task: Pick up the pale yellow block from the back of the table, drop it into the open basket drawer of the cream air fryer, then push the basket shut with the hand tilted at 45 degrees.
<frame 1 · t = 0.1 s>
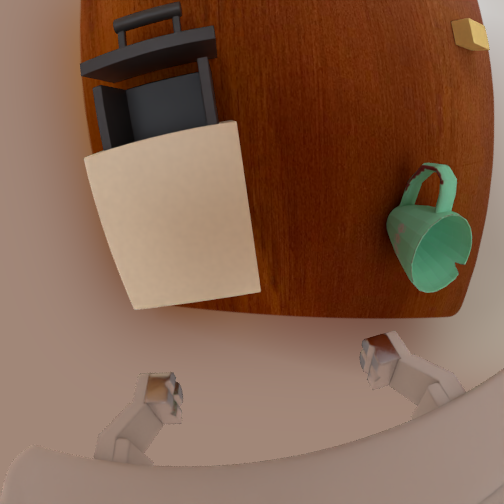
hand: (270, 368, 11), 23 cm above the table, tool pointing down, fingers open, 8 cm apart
drawer: (159, 96, 21), point 5 cm above the table, slide at 7.0 cm
block: (461, 36, 22), on the table
fryer: (187, 194, 31), on the table
mug: (401, 204, 34), on the table
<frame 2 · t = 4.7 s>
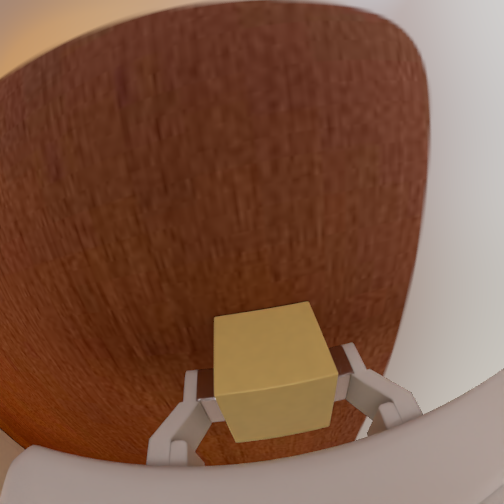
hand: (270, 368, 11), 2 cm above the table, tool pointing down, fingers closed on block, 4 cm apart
block: (266, 342, 13), on the table, touching gripper
fryer: (7, 444, 21), on the table
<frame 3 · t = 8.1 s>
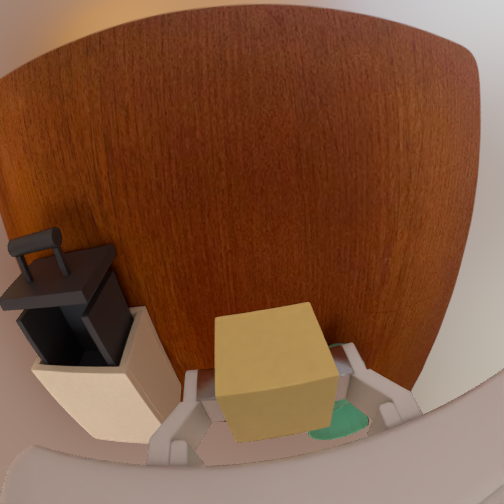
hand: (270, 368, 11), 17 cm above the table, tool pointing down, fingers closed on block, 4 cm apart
drawer: (71, 312, 23), point 5 cm above the table, slide at 7.0 cm
block: (267, 342, 13), point 15 cm above the table, touching gripper
fryer: (122, 353, 33), on the table
mug: (326, 352, 36), on the table
when the fingers open (9 cm above the table, at t = 11.9 s): block drops 5 cm, resting on drawer.
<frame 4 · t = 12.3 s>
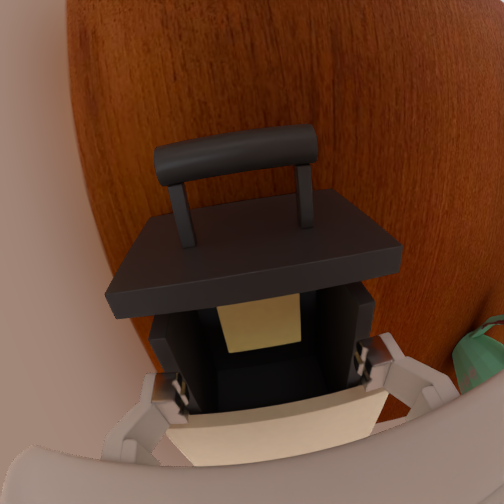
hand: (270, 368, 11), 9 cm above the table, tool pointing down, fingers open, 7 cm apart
drawer: (258, 307, 15), point 5 cm above the table, slide at 7.0 cm, touching block
block: (253, 278, 17), point 2 cm above the table, touching drawer
fryer: (266, 365, 24), on the table
mug: (470, 331, 28), on the table
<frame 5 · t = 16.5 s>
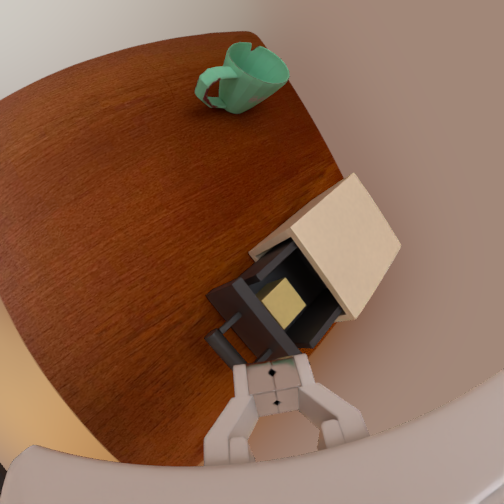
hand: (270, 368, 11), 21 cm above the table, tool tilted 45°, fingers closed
drawer: (279, 304, 31), point 5 cm above the table, slide at 7.0 cm, touching block
block: (266, 306, 33), point 2 cm above the table, touching drawer
fryer: (308, 258, 40), on the table
mug: (221, 107, 41), on the table
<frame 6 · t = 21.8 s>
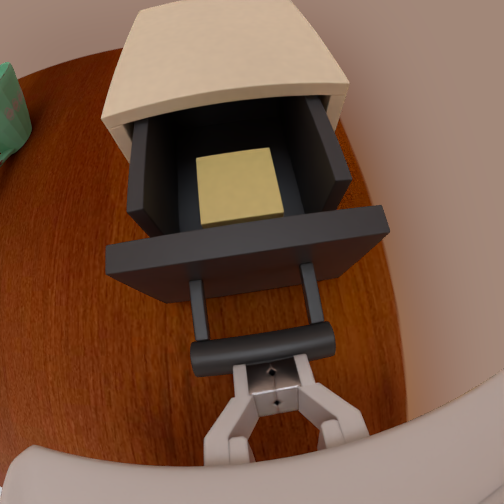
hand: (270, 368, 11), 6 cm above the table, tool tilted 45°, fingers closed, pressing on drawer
drawer: (238, 193, 15), point 5 cm above the table, slide at 6.4 cm, touching block, gripper
block: (241, 215, 18), point 2 cm above the table, touching drawer
fryer: (226, 121, 23), on the table
mug: (14, 154, 24), on the table
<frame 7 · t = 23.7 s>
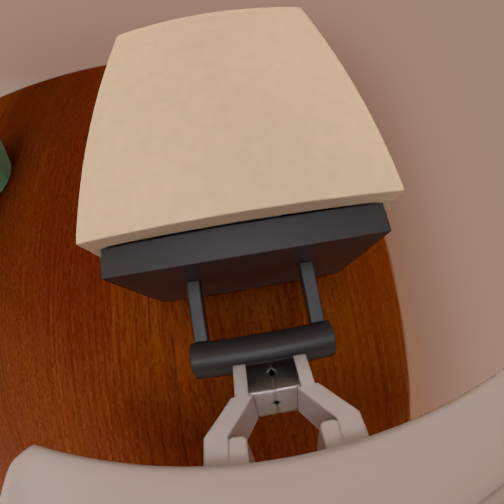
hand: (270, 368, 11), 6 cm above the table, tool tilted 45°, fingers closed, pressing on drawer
drawer: (235, 189, 15), point 5 cm above the table, slide at 0.0 cm, touching block, fryer, gripper
fryer: (231, 174, 21), on the table
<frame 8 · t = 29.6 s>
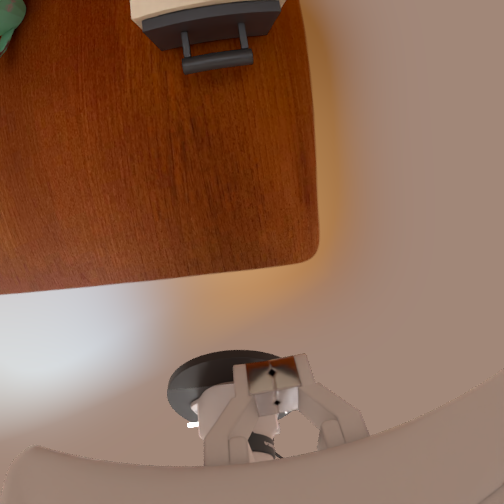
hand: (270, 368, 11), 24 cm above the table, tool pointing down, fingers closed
mug: (13, 30, 17), on the table
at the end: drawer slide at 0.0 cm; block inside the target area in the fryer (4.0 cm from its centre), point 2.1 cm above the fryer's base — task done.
